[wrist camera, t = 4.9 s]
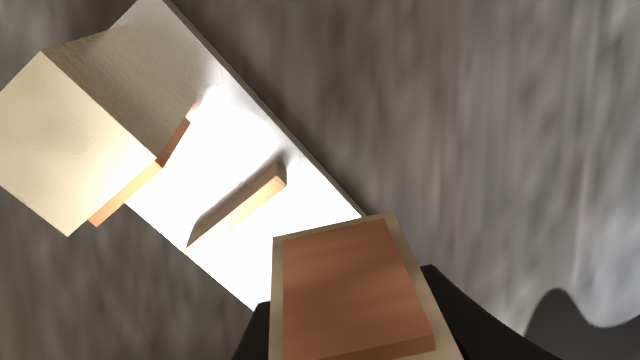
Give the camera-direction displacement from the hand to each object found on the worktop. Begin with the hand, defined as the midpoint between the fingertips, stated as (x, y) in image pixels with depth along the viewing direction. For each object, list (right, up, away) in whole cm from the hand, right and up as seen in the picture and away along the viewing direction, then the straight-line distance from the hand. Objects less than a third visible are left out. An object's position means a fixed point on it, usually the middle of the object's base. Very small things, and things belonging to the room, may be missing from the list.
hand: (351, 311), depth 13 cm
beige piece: (-5, +4, +8) cm, 10 cm away
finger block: (0, +1, +2) cm, 2 cm away
